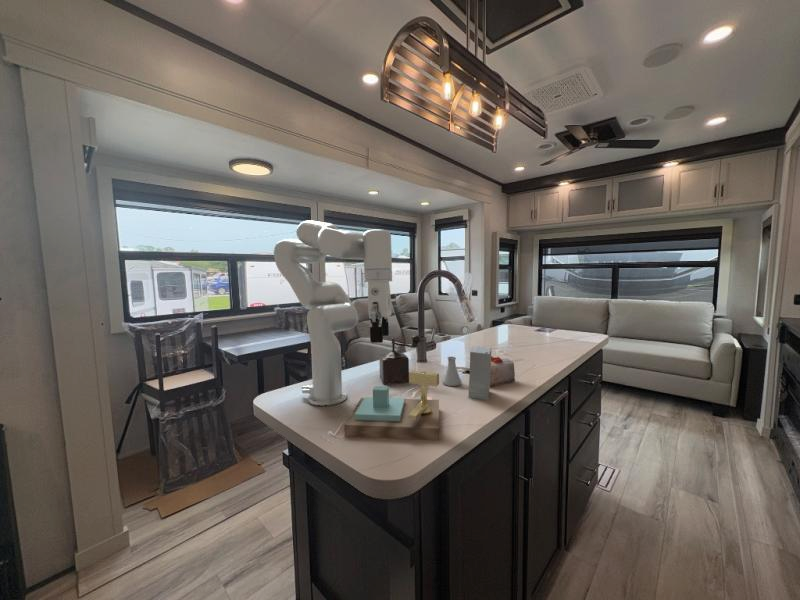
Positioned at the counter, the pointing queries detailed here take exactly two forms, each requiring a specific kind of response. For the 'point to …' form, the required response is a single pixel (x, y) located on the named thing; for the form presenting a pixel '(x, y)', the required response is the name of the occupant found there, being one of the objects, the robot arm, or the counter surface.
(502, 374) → the food item
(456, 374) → the flask
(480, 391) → the skincare box
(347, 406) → the counter surface
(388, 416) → the cover
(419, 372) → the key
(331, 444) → the counter surface
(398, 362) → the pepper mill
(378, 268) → the robot arm
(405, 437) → the base
